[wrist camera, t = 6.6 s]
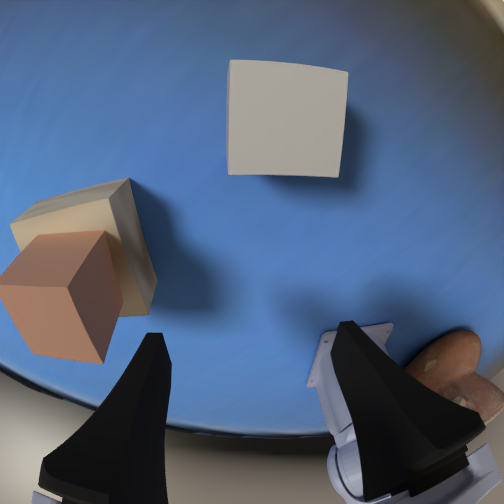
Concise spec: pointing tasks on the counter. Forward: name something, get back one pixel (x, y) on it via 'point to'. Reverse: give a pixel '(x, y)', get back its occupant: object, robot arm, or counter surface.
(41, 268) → the terracotta cube
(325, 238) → the counter surface
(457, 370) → the ceramic jug
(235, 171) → the grey block
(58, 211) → the birch plinth
